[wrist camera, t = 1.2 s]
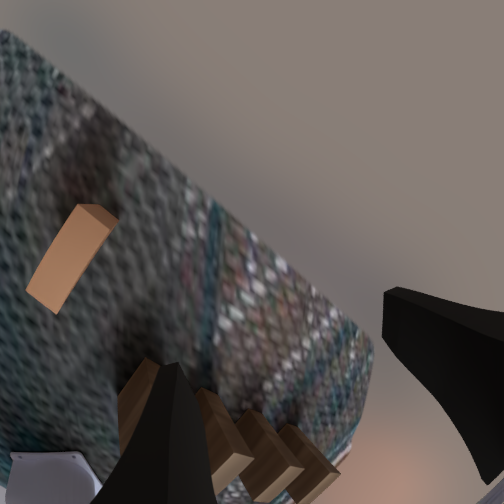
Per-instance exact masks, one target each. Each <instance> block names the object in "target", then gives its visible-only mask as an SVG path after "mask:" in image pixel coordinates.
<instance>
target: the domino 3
mask: <svg viewBox="0 0 504 504" xmlns="http://www.w3.org/2000/svg"><path fill="white" fill-rule="evenodd" d="M195 397H196V399H197V401H198V403H199V407H200V411H201V415H202V419H203V423H204V427H205V433H206V440H207V448H208V455H209V462H210V469H211V476H212V482H213V488H214V493H215V495H217V494H219V493H220V492H221V491H222V490H223V489H224V488H225V487H226V486H227V485H228V484H229V483H230V482H231V481H233V480H234V479H235V478H236V477H237V476H238V475H239V474H240V473H241V472H242V471H243V470H244V469H245V468H246V467H247V466H248V465H249V464H250V463H251V462H252V461H253V460H254V459H255V457H254V456H253V454H252V453H251V451H250V449H249V448H248V446H247V444H246V443H245V441H244V439H243V438H242V436H241V434H240V433H239V431H238V429H237V428H236V426H235V424H234V422H233V421H232V419H231V417H230V415H229V414H228V412H227V410H226V408H225V406H224V405H223V403H222V401H221V399H220V397H219V396H218V395H217V394H215V393H213V392H211V391H209V390H207V389H205V388H203V387H201V388H200V389H199V390H198V392H197V393H196V394H195Z"/></svg>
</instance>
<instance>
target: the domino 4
mask: <svg viewBox="0 0 504 504" xmlns="http://www.w3.org/2000/svg"><path fill="white" fill-rule="evenodd" d="M235 426H236V428H237V429H238V431H239V433H240V434H241V436H242V438H243V439H244V441H245V443H246V444H247V446H248V448H249V449H250V451H251V453H252V454H253V456H254V457H255V459H254V460H253V461H252V462H251V463H250V464H249V465H248V466H247V467H246V468H245V469H244V470H243V471H242V472H241V473H240V474H239V477H240V479H241V481H242V482H243V484H244V486H245V488H246V490H247V491H248V493H249V495H250V497H251V498H252V500H253V501H257V502H267V503H269V502H270V501H272V500H273V499H274V498H275V497H276V496H277V495H278V494H279V493H280V492H282V491H283V490H284V489H285V488H286V487H287V486H288V485H289V484H290V483H291V482H292V481H293V480H294V479H295V478H296V477H297V476H298V475H299V474H300V473H301V472H302V471H303V470H304V469H305V468H304V467H303V466H302V464H301V463H300V462H299V461H298V459H297V458H296V457H295V456H294V454H293V453H292V452H291V451H290V449H289V448H288V447H287V446H286V444H285V443H284V442H283V441H282V439H281V438H280V437H279V435H278V434H277V433H276V431H275V430H274V429H273V427H272V426H271V425H270V423H269V422H268V421H267V419H266V418H265V417H264V415H263V414H262V413H259V412H257V411H254V410H252V409H249V408H248V409H247V411H246V412H245V413H244V414H243V415H242V416H241V418H240V419H239V420H238V421H237V422H236V423H235Z"/></svg>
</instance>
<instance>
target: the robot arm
mask: <svg viewBox="0 0 504 504" xmlns="http://www.w3.org/2000/svg"><path fill="white" fill-rule="evenodd" d="M382 338H383V339H384V341H385V342H386V343H387V345H388V347H389V348H390V349H391V351H392V352H393V353H394V355H395V356H396V357H397V358H398V359H399V361H400V362H401V363H402V364H403V365H404V366H405V367H406V368H407V369H408V370H409V371H410V372H411V373H412V374H413V375H414V376H415V377H416V378H417V379H418V380H419V381H420V382H421V383H422V384H423V386H424V387H425V388H426V389H427V390H428V391H429V392H430V393H431V394H432V395H433V396H434V397H435V399H436V400H437V401H438V402H439V404H440V405H441V406H442V408H443V409H444V411H445V412H446V413H447V415H448V416H449V417H450V419H451V421H452V422H453V424H454V425H455V427H456V428H457V430H458V432H459V433H460V435H461V436H462V438H463V440H464V442H465V444H466V446H467V447H468V449H469V451H470V453H471V455H472V457H473V459H474V462H475V464H476V466H477V468H478V471H479V473H480V476H481V479H482V480H483V481H484V482H485V484H486V485H489V484H490V483H491V482H492V481H493V480H494V479H495V478H496V477H497V476H498V475H499V474H500V473H501V472H502V471H503V470H504V312H498V311H491V310H485V309H480V308H475V307H471V306H467V305H463V304H459V303H455V302H452V301H448V300H445V299H441V298H438V297H434V296H431V295H427V294H424V293H421V292H417V291H413V290H410V289H405V288H401V287H395V288H393V289H390V290H388V291H385V292H384V301H383V324H382ZM73 455H74V456H73ZM10 457H11V458H12V459H13V463H12V467H11V472H10V476H9V480H8V485H7V490H6V496H5V501H6V504H217V500H216V497H215V493H214V488H213V482H212V476H211V469H210V462H209V455H208V448H207V440H206V433H205V427H204V423H203V419H202V415H201V411H200V407H199V403H198V401H197V399H196V397H195V395H194V393H193V391H192V389H191V387H190V385H189V383H188V381H187V379H186V377H185V375H184V373H183V371H182V369H181V367H180V365H179V362H176V363H172V364H168V365H164V366H160V368H159V369H158V372H157V375H156V377H155V380H154V383H153V386H152V388H151V391H150V394H149V396H148V399H147V402H146V404H145V406H144V409H143V411H142V414H141V416H140V419H139V421H138V423H137V425H136V427H135V430H134V432H133V434H132V436H131V438H130V440H129V442H128V444H127V446H126V448H125V450H124V452H123V454H122V456H121V458H120V459H119V461H118V463H117V464H116V466H115V468H114V470H113V471H112V473H111V474H110V476H109V477H108V479H107V480H106V482H105V483H104V485H102V483H101V482H100V480H99V479H98V478H97V476H96V475H95V473H94V472H93V470H92V469H91V467H90V466H89V464H88V462H87V461H86V459H85V458H84V456H83V454H82V453H80V452H78V451H75V452H50V453H28V452H11V453H10ZM503 501H504V478H503V479H502V480H501V481H500V482H499V483H498V484H497V485H496V486H495V487H494V488H493V489H492V490H491V491H490V492H489V493H488V494H487V495H485V496H484V497H483V498H482V499H481V500H480V501H479V502H478V503H476V504H501V503H502V502H503Z"/></svg>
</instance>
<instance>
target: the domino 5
mask: <svg viewBox="0 0 504 504" xmlns="http://www.w3.org/2000/svg"><path fill="white" fill-rule="evenodd" d="M278 435H279V437H280V438H281V439H282V441H283V442H284V443H285V444H286V446H287V447H288V448H289V449H290V451H291V452H292V453H293V454H294V456H295V457H296V458H297V459H298V461H299V462H300V463H301V464H302V466H303V467H304V468H305V469H304V470H303V471H302V472H301V473H300V474H299V475H298V476H297V477H296V478H295V479H294V480H293V481H292V482H291V483H290V484H289V485H288V486H287V487H286V488H285V489H286V490H287V492H288V493H289V495H290V496H291V497H292V499H293V500H294V501H295V503H296V504H310V503H311V502H312V501H313V500H315V499H316V498H317V497H318V496H319V495H320V494H321V493H322V492H323V491H324V490H325V489H326V488H327V487H328V486H329V485H331V484H332V483H333V482H334V481H335V479H337V477H339V476H340V474H341V473H340V472H339V471H338V470H337V469H336V468H335V467H334V466H333V465H332V464H331V463H330V462H329V461H328V460H327V459H326V457H325V456H324V455H323V454H322V453H321V452H320V451H319V450H318V449H317V448H316V447H315V446H314V445H313V443H312V442H311V441H310V440H309V439H308V438H307V437H306V436H305V435H304V433H303V432H302V431H301V430H300V429H299V428H298V427H296V426H294V425H291V424H288V423H286V425H285V426H284V427H283V428H282V429H281V430H280V431H279V433H278Z"/></svg>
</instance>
